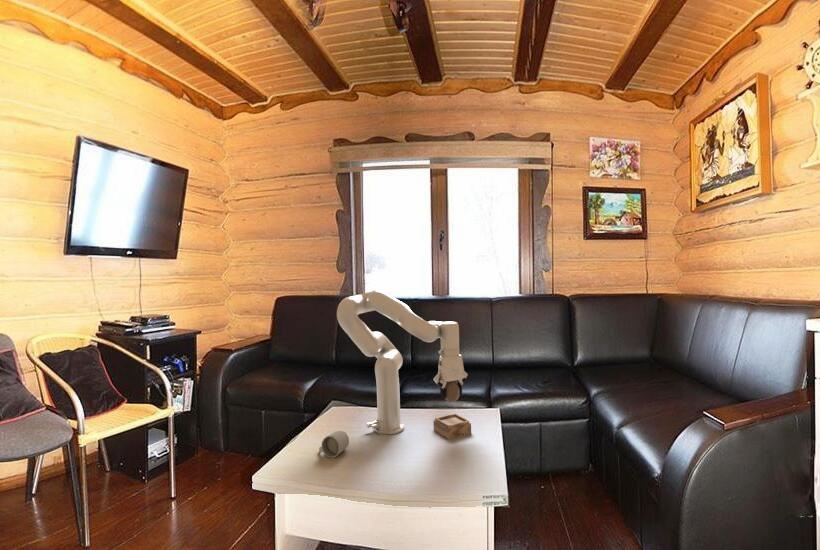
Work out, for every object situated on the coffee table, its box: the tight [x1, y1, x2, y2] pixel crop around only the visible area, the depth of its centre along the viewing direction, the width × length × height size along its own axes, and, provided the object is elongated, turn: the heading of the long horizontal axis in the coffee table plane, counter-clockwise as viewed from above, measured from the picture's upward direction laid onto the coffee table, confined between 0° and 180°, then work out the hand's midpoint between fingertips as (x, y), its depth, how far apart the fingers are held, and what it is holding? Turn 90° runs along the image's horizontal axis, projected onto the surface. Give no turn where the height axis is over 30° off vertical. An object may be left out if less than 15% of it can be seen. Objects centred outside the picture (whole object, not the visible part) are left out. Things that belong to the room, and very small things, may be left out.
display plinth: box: [433, 413, 472, 440], centre depth 166 cm, size 11×11×5 cm
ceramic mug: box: [318, 430, 350, 459], centre depth 150 cm, size 11×8×8 cm
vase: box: [444, 381, 461, 403], centre depth 166 cm, size 7×7×9 cm
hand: (451, 395), depth 166 cm, fingers closed on vase, 6 cm apart
